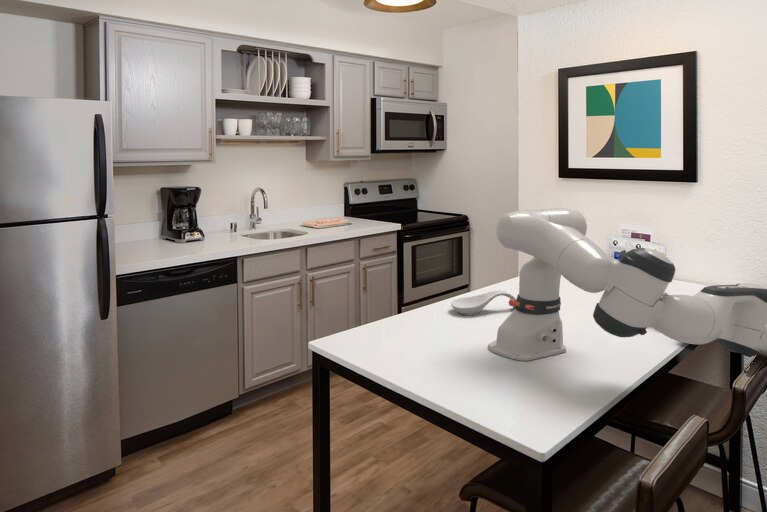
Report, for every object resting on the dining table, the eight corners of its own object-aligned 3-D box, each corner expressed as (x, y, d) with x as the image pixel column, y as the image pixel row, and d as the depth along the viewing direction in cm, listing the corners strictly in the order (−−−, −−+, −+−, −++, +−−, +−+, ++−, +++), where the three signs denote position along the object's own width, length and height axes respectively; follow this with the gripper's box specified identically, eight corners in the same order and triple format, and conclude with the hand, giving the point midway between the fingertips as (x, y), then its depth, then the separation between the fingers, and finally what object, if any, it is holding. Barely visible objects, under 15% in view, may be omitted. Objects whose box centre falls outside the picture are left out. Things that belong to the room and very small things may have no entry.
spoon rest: (455, 319, 184) (456, 298, 183) (447, 309, 196) (447, 289, 194) (523, 315, 188) (524, 294, 186) (510, 305, 199) (511, 286, 198)
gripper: (704, 345, 150) (658, 331, 162) (747, 333, 160) (701, 320, 172) (706, 323, 149) (660, 310, 161) (750, 312, 158) (703, 300, 170)
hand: (681, 315), depth 166 cm, fingers open, 8 cm apart
